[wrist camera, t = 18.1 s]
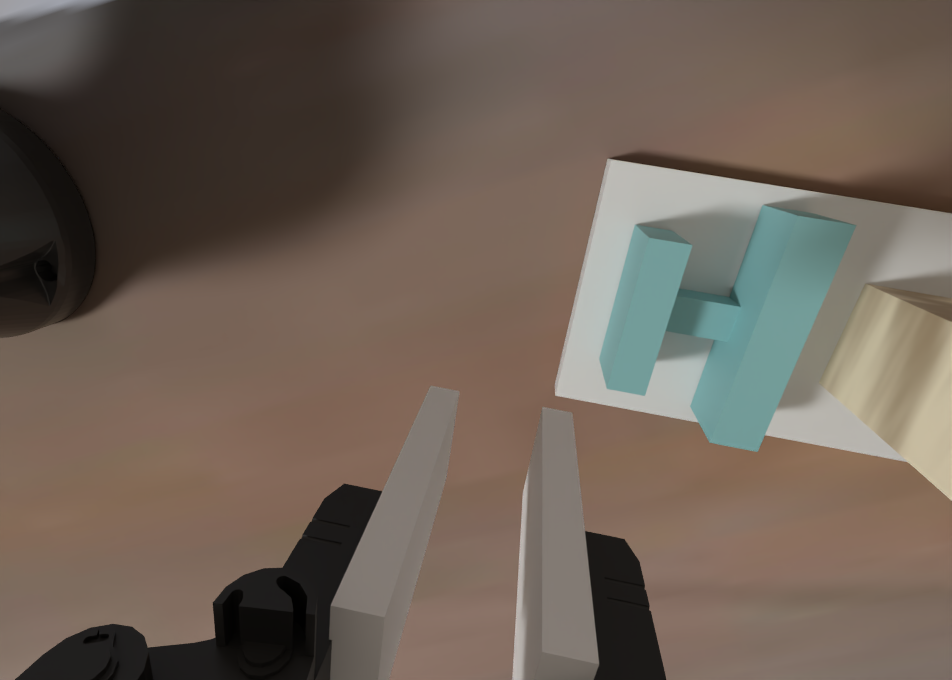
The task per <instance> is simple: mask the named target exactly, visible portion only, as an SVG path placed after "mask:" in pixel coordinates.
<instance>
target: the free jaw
mask: <svg viewBox="0 0 952 680" xmlns="http://www.w3.org/2000/svg"><path fill="white" fill-rule="evenodd" d="M855 228H856V225H854V224H850V223H847V222H843V221H839V220H836V219H832V218H828V217H825V216H821V215H818V214H814V213H809V212H803V211H797V210H790V209H784V208H778V207H772V206H766V205H762V208H761V211H760V213H759V216H758V219H757V222H756V225H755V227H754V230H753V233H752V236H751V238H750V241H749V244H748V247H747V250H746V252H745V255H744V258H743V261H742V263H741V266H740V269H739V272H738V275H737V277H736V280H735V283H734V286H733V289H732V291H731V294H730V297H726V296H721V295H715V294H709V293H703V292H698V291H692V290H686V289H680V288H679V287H680V283H681V280H682V277H683V274H684V271H685V268H686V264H687V261H688V258H689V255H690V252H691V249H692V244H690V243H689V242H688V241H686V240H685V239H683V238H682V237H681V236H679V235H678V234H676V233H675V232H673V231H671V230H665V229H659V228H653V227H647V226H641V225H635V226H634V230H633V233H632V237H631V241H630V245H629V248H628V252H627V256H626V260H625V263H624V267H623V271H622V275H621V278H620V282H619V286H618V290H617V293H616V297H615V301H614V305H613V308H612V312H611V316H610V320H609V323H608V327H607V331H606V335H605V338H604V342H603V346H602V350H601V353H600V357H599V361H600V364H601V368H602V372H603V376H604V380H605V384H606V388H607V389H610V390H615V391H621V392H626V393H631V394H637V395H642V396H645V394H646V391H647V388H648V385H649V382H650V378H651V375H652V372H653V369H654V366H655V363H656V359H657V356H658V353H659V350H660V347H661V344H662V340H663V337H664V334H665V331H668V332H674V333H679V334H685V335H691V336H696V337H702V338H707V339H713V340H714V341H713V344H712V347H711V350H710V353H709V355H708V358H707V361H706V364H705V366H704V369H703V372H702V375H701V378H700V380H699V383H698V386H697V389H696V392H695V394H694V397H693V400H692V403H691V405H690V407H691V409H692V411H693V413H694V415H695V416H696V418H697V420H698V422H699V424H700V426H701V427H702V429H703V431H704V433H705V435H706V436H707V438H708V440H709V442H710V443H714V444H719V445H725V446H730V447H735V448H740V449H746V450H751V451H756V452H758V450H759V447H760V445H761V443H762V440H763V438H764V436H765V434H766V431H767V429H768V427H769V424H770V422H771V420H772V418H773V415H774V413H775V411H776V408H777V406H778V404H779V402H780V399H781V397H782V395H783V392H784V390H785V388H786V386H787V383H788V381H789V379H790V376H791V374H792V372H793V369H794V367H795V365H796V363H797V360H798V358H799V356H800V353H801V351H802V349H803V347H804V344H805V342H806V340H807V337H808V335H809V333H810V331H811V328H812V326H813V324H814V321H815V319H816V317H817V315H818V312H819V310H820V308H821V305H822V303H823V301H824V299H825V296H826V294H827V292H828V289H829V287H830V285H831V283H832V280H833V278H834V276H835V273H836V271H837V269H838V267H839V264H840V262H841V260H842V257H843V255H844V253H845V251H846V248H847V246H848V244H849V241H850V239H851V237H852V235H853V232H854V230H855Z"/></svg>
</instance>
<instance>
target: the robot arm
mask: <svg viewBox="0 0 952 680" xmlns="http://www.w3.org/2000/svg"><path fill="white" fill-rule="evenodd" d="M94 268H95V245H94V237H93V232H92V228H91V224H90V220H89V217H88V214H87V211H86V208H85V206H84V203H83V201H82V199H81V197H80V194H79V193H78V191H77V189H76V187H75V185H74V183H73V182H72V180H71V178H70V176H69V175H68V173H67V172H66V170H65V169H64V167H63V166H62V165H61V163H60V162H59V161H58V159H57V158H56V157H55V156H54V155H53V153H52V152H51V151H50V150H49V149H48V148H47V147H46V145H45V144H44V143H43V142H42V141H41V140H40V139H39V138H38V137H37V136H36V135H34V134H33V133H32V132H31V131H30V130H29V129H28V128H26V127H25V126H24V125H23V124H21V123H20V122H19V121H17V120H16V119H14V118H13V117H12V116H10V115H8V114H7V113H5V112H3V111H2V110H0V338H5V337H13V336H18V335H23V334H26V333H29V332H32V331H35V330H38V329H40V328H43V327H46V326H48V325H51V324H54V323H56V322H59V321H61V320H63V319H64V318H66V317H68V316H69V315H70V314H72V313H73V312H74V311H75V310H76V309H77V308H78V307H79V306H80V304H81V303H82V302H83V300H84V299H85V297H86V295H87V293H88V291H89V289H90V286H91V283H92V279H93V275H94ZM459 392H460V391H456V390H450V389H445V388H440V387H435V386H430V388H429V390H428V392H427V395H426V397H425V399H424V401H423V403H422V406H421V408H420V410H419V412H418V414H417V417H416V419H415V421H414V423H413V425H412V428H411V430H410V432H409V434H408V436H407V439H406V441H405V443H404V445H403V447H402V450H401V452H400V454H399V456H398V458H397V461H396V463H395V465H394V467H393V469H392V472H391V474H390V476H389V478H388V480H387V483H386V485H385V487H384V489H383V491H378V490H373V489H368V488H363V487H358V486H353V485H348V484H343V485H342V486H341V487H339V488H338V489H337V490H335V491H334V492H333V493H331V494H330V495H329V496H327V497H326V498H325V499H324V500H323V502H322V504H321V505H320V507H319V508H318V510H317V512H316V513H315V515H314V517H313V519H312V522H310V523H309V525H308V527H307V528H306V530H305V532H304V533H303V536H302V539H300V540H299V541H298V543H297V545H296V546H295V548H294V550H293V551H292V553H291V555H290V556H289V558H288V560H287V561H286V563H285V564H284V566H283V568H264V569H261V570H258V571H255V572H252V573H249V574H245V575H243V576H242V577H240V578H239V579H237V580H236V581H234V582H233V583H231V584H230V585H228V586H227V587H226V588H225V589H224V590H223V591H222V592H221V594H220V595H219V596H218V597H217V598H216V600H215V601H214V602H213V611H214V623H215V636H216V638H213V639H211V640H206V641H201V642H196V643H189V644H179V645H170V646H160V647H150V648H147V644H146V641H145V637H144V636H143V635H142V634H141V633H139V632H138V631H137V630H135V629H134V628H133V627H130V626H123V625H117V624H110V625H104V626H98V627H92V628H89V629H87V630H84V631H82V632H80V633H77V634H75V635H73V636H70V637H68V638H66V639H65V640H63V641H62V642H60V643H59V644H58V645H56V646H55V647H53V648H52V649H50V650H49V651H48V652H46V653H45V654H43V655H42V656H41V657H40V658H39V659H38V660H37V661H36V662H34V663H33V664H32V665H31V666H30V667H29V668H28V669H26V670H25V671H24V672H23V673H22V674H21V675H20V676H19V677H17V678H16V679H15V680H389V678H390V674H391V671H392V667H393V664H394V660H395V657H396V653H397V649H398V646H399V642H400V639H401V635H402V632H403V628H404V625H405V621H406V618H407V614H408V611H409V607H410V604H411V600H412V597H413V593H414V590H415V586H416V583H417V579H418V576H419V572H420V569H421V565H422V562H423V558H424V555H425V551H426V548H427V544H428V541H429V537H430V534H431V530H432V527H433V523H434V520H435V516H436V513H437V509H438V506H439V502H440V499H441V495H442V492H443V488H444V484H445V481H446V477H447V471H448V464H449V458H450V451H451V445H452V438H453V431H454V425H455V418H456V411H457V405H458V398H459ZM644 588H645V584H644V580H643V575H642V571H641V567H640V562H639V560H638V559H637V557H636V556H635V554H634V553H633V551H632V550H631V548H630V547H629V545H628V544H627V542H626V541H625V539H621V538H616V537H611V536H606V535H601V534H597V533H592V532H587V531H585V527H584V518H583V508H582V499H581V490H580V480H579V471H578V462H577V452H576V443H575V434H574V424H573V415H572V413H571V412H566V411H561V410H556V409H550V408H545V407H542V411H541V416H540V420H539V425H538V429H537V433H536V438H535V442H534V447H533V451H532V455H531V460H530V464H529V469H528V473H527V477H526V482H525V486H524V491H523V502H522V520H521V537H520V555H519V573H518V591H517V609H516V626H515V644H514V662H513V680H666V676H665V672H664V667H663V663H662V659H661V654H660V650H659V645H658V641H657V637H656V632H655V628H654V624H653V619H652V615H651V611H649V602H648V597H647V593H646V590H645V589H644Z"/></svg>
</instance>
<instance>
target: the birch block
mask: <svg viewBox="0 0 952 680" xmlns="http://www.w3.org/2000/svg"><path fill="white" fill-rule="evenodd" d="M819 384H820V385H822V386H823V387H824V388H825V389H826V390H827V391H828V392H829V393H831V394H832V395H833V396H834V397H835V398H836V399H837V400H839V401H840V402H841V403H842V404H843V405H844V406H845V407H846V408H848V409H849V410H850V411H851V412H852V413H853V414H854V415H855V416H857V417H858V418H859V419H860V420H861V421H862V422H863V423H865V424H866V425H867V426H868V427H869V428H870V429H871V430H872V431H874V432H875V433H876V434H877V435H878V436H879V437H880V438H881V439H883V440H884V441H885V442H886V443H887V444H888V445H889V446H890V447H892V448H893V449H894V450H895V451H896V452H897V453H898V454H900V455H901V456H902V457H903V458H904V459H905V460H906V461H907V462H909V463H910V464H911V465H912V466H913V467H914V468H915V469H916V470H918V471H919V472H920V473H921V474H922V475H923V476H924V477H926V478H927V479H928V480H929V481H930V482H931V483H932V484H933V485H935V486H936V487H937V488H938V489H939V490H940V491H941V492H942V493H944V494H945V495H946V496H947V497H948V498H949V499H950V500H952V298H947V297H941V296H935V295H929V294H924V293H918V292H912V291H906V290H900V289H894V288H889V287H883V286H877V285H871V284H865V285H864V287H863V289H862V291H861V293H860V296H859V298H858V300H857V302H856V304H855V306H854V308H853V311H852V313H851V315H850V317H849V319H848V321H847V323H846V326H845V328H844V330H843V332H842V334H841V336H840V338H839V340H838V343H837V345H836V347H835V349H834V351H833V353H832V355H831V358H830V360H829V362H828V364H827V366H826V368H825V370H824V373H823V375H822V377H821V379H820V381H819Z"/></svg>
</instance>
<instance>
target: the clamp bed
mask: <svg viewBox="0 0 952 680" xmlns="http://www.w3.org/2000/svg"><path fill="white" fill-rule="evenodd" d="M762 205H766V206H772V207H778V208H784V209H790V210H797V211H803V212H809V213H814V214H818V215H821V216H825V217H828V218H832V219H836V220H839V221H843V222H847V223H850V224H854V225H856V228H855V230H854V232H853V235H852V237H851V239H850V241H849V244H848V246H847V248H846V251H845V253H844V255H843V257H842V260H841V262H840V264H839V267H838V269H837V271H836V273H835V276H834V278H833V280H832V283H831V285H830V287H829V289H828V292H827V294H826V296H825V299H824V301H823V303H822V305H821V308H820V310H819V312H818V315H817V317H816V319H815V321H814V324H813V326H812V328H811V331H810V333H809V335H808V337H807V340H806V342H805V344H804V347H803V349H802V351H801V353H800V356H799V358H798V360H797V363H796V365H795V367H794V369H793V372H792V374H791V376H790V379H789V381H788V383H787V386H786V388H785V390H784V392H783V395H782V397H781V399H780V402H779V404H778V406H777V408H776V411H775V413H774V415H773V418H772V420H771V422H770V424H769V427H768V429H767V431H766V434H765V435H768V436H773V437H778V438H784V439H789V440H794V441H799V442H805V443H810V444H815V445H821V446H826V447H831V448H837V449H842V450H847V451H852V452H858V453H863V454H868V455H874V456H879V457H884V458H890V459H895V460H900V461H905V462H907V461H906V460H905V459H904V458H903V457H902V456H901V455H900V454H898V453H897V452H896V451H895V450H894V449H893V448H892V447H890V446H889V445H888V444H887V443H886V442H885V441H884V440H883V439H881V438H880V437H879V436H878V435H877V434H876V433H875V432H874V431H872V430H871V429H870V428H869V427H868V426H867V425H866V424H865V423H863V422H862V421H861V420H860V419H859V418H858V417H857V416H855V415H854V414H853V413H852V412H851V411H850V410H849V409H848V408H846V407H845V406H844V405H843V404H842V403H841V402H840V401H839V400H837V399H836V398H835V397H834V396H833V395H832V394H831V393H829V392H828V391H827V390H826V389H825V388H824V387H823V386H822V385H820V384H819V381H820V379H821V377H822V375H823V373H824V370H825V368H826V366H827V364H828V362H829V360H830V358H831V355H832V353H833V351H834V349H835V347H836V345H837V343H838V340H839V338H840V336H841V334H842V332H843V330H844V328H845V326H846V323H847V321H848V319H849V317H850V315H851V313H852V311H853V308H854V306H855V304H856V302H857V300H858V298H859V296H860V293H861V291H862V289H863V287H864V285H865V284H871V285H877V286H883V287H889V288H894V289H900V290H906V291H912V292H918V293H924V294H929V295H935V296H941V297H947V298H952V213H946V212H940V211H934V210H928V209H921V208H915V207H909V206H903V205H896V204H890V203H884V202H877V201H871V200H865V199H859V198H852V197H846V196H840V195H834V194H827V193H821V192H815V191H809V190H802V189H796V188H790V187H783V186H777V185H771V184H765V183H758V182H752V181H746V180H740V179H733V178H727V177H721V176H714V175H708V174H702V173H696V172H689V171H683V170H677V169H671V168H664V167H658V166H652V165H646V164H639V163H633V162H627V161H620V160H614V159H608V160H607V164H606V168H605V172H604V177H603V181H602V185H601V189H600V194H599V198H598V202H597V207H596V211H595V215H594V219H593V224H592V228H591V232H590V237H589V241H588V245H587V249H586V254H585V258H584V262H583V266H582V271H581V275H580V279H579V284H578V288H577V292H576V296H575V301H574V305H573V309H572V314H571V318H570V322H569V326H568V331H567V335H566V339H565V343H564V348H563V352H562V356H561V361H560V365H559V369H558V373H557V378H556V382H555V396H561V397H566V398H571V399H577V400H582V401H587V402H593V403H598V404H603V405H609V406H614V407H619V408H624V409H630V410H635V411H640V412H646V413H651V414H656V415H662V416H667V417H672V418H677V419H683V420H688V421H693V422H698V420H697V418H696V416H695V415H694V413H693V411H692V409H691V407H690V405H691V403H692V400H693V397H694V394H695V392H696V389H697V386H698V383H699V380H700V378H701V375H702V372H703V369H704V366H705V364H706V361H707V358H708V355H709V353H710V350H711V347H712V344H713V341H714V340H713V339H707V338H702V337H696V336H691V335H685V334H679V333H674V332H668V331H665V334H664V337H663V340H662V344H661V347H660V350H659V353H658V356H657V359H656V363H655V366H654V369H653V372H652V375H651V378H650V382H649V385H648V388H647V391H646V394H645V396H642V395H637V394H631V393H626V392H621V391H615V390H610V389H607V388H606V384H605V380H604V376H603V372H602V368H601V364H600V361H599V357H600V353H601V350H602V346H603V342H604V338H605V335H606V331H607V327H608V323H609V320H610V316H611V312H612V308H613V305H614V301H615V297H616V293H617V290H618V286H619V282H620V278H621V275H622V271H623V267H624V263H625V260H626V256H627V252H628V248H629V245H630V241H631V237H632V233H633V230H634V226H635V225H641V226H647V227H653V228H659V229H665V230H671V231H673V232H675V233H676V234H678V235H679V236H681V237H682V238H683V239H685V240H686V241H688V242H689V243H690V244H692V249H691V252H690V255H689V258H688V261H687V264H686V268H685V271H684V274H683V277H682V280H681V283H680V287H679V288H680V289H686V290H692V291H698V292H703V293H709V294H715V295H721V296H726V297H730V294H731V291H732V289H733V286H734V283H735V280H736V277H737V275H738V272H739V269H740V266H741V263H742V261H743V258H744V255H745V252H746V250H747V247H748V244H749V241H750V238H751V236H752V233H753V230H754V227H755V225H756V222H757V219H758V216H759V213H760V211H761V208H762Z"/></svg>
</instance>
